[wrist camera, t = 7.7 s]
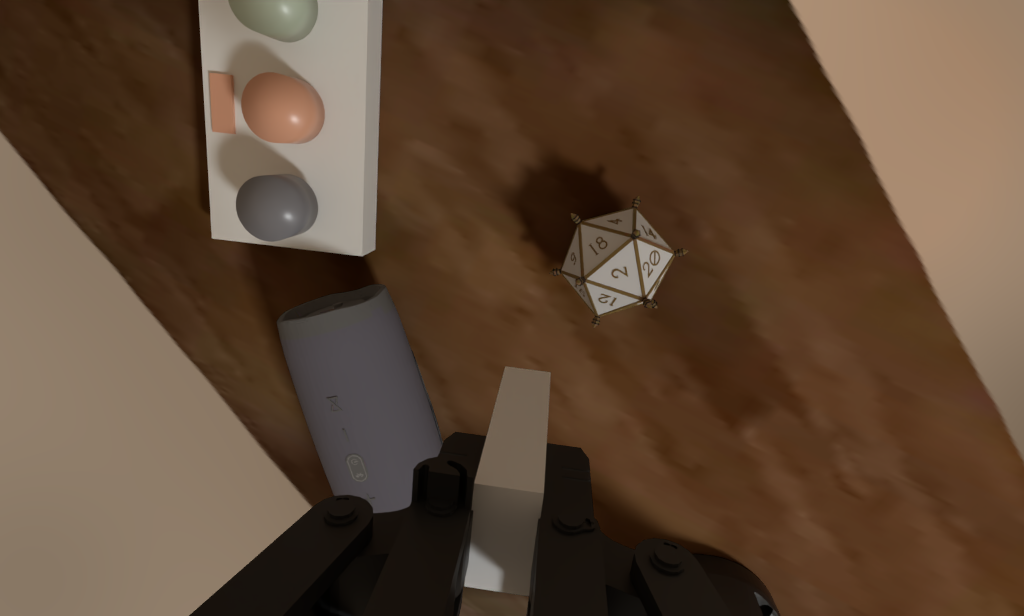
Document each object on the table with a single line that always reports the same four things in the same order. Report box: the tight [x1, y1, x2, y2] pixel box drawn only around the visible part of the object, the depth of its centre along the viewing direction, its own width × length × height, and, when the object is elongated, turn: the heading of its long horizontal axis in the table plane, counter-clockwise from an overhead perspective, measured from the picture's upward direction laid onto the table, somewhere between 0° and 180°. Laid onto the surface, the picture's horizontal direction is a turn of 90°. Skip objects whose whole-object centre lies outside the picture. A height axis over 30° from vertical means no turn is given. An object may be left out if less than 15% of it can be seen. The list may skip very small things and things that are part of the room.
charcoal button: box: [236, 174, 318, 242], centre depth 38 cm, size 4×4×3 cm
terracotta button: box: [241, 72, 325, 144], centre depth 37 cm, size 4×4×3 cm
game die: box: [549, 196, 688, 328], centre depth 39 cm, size 9×8×10 cm
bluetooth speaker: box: [277, 284, 443, 513], centre depth 43 cm, size 23×9×10 cm, turn 14°
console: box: [198, 0, 383, 256], centre depth 40 cm, size 20×12×3 cm, turn 174°
